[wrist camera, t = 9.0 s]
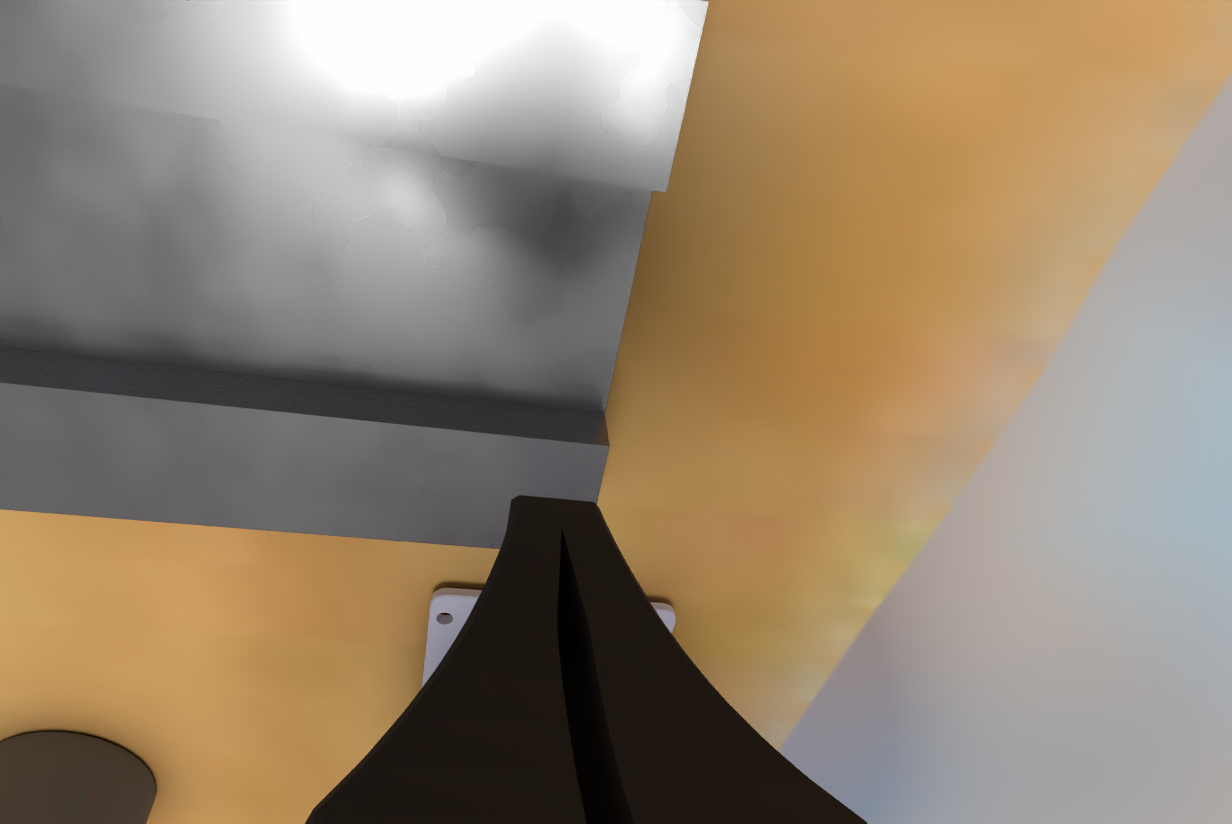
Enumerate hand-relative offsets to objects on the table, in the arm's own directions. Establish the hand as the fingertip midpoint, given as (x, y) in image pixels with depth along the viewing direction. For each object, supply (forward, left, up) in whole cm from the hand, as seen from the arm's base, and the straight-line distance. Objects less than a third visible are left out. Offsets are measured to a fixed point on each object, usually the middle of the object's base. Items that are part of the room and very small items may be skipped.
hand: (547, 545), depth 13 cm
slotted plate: (+1, +7, -9) cm, 12 cm away
